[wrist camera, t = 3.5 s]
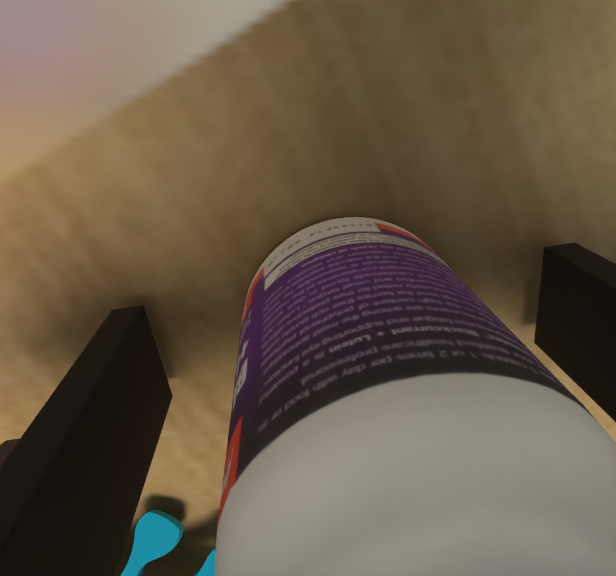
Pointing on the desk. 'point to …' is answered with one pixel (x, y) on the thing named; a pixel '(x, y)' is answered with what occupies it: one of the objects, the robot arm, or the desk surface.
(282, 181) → the desk surface
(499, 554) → the pill bottle
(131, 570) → the gear
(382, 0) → the desk surface
